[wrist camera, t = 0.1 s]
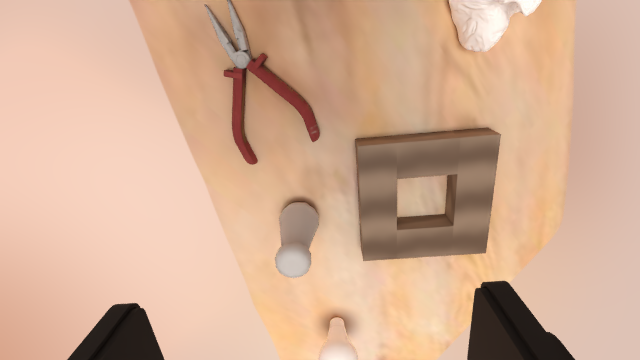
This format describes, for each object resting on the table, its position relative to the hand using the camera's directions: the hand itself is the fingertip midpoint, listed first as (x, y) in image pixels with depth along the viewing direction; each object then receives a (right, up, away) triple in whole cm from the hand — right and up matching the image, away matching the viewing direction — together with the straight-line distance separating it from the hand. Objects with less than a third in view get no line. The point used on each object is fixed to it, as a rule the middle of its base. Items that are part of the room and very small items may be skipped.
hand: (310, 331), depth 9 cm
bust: (+19, +26, +29) cm, 43 cm away
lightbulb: (+3, -21, +49) cm, 53 cm away
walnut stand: (+15, +2, +38) cm, 41 cm away
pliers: (-7, +17, +34) cm, 38 cm away
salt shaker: (-3, -1, +40) cm, 41 cm away
